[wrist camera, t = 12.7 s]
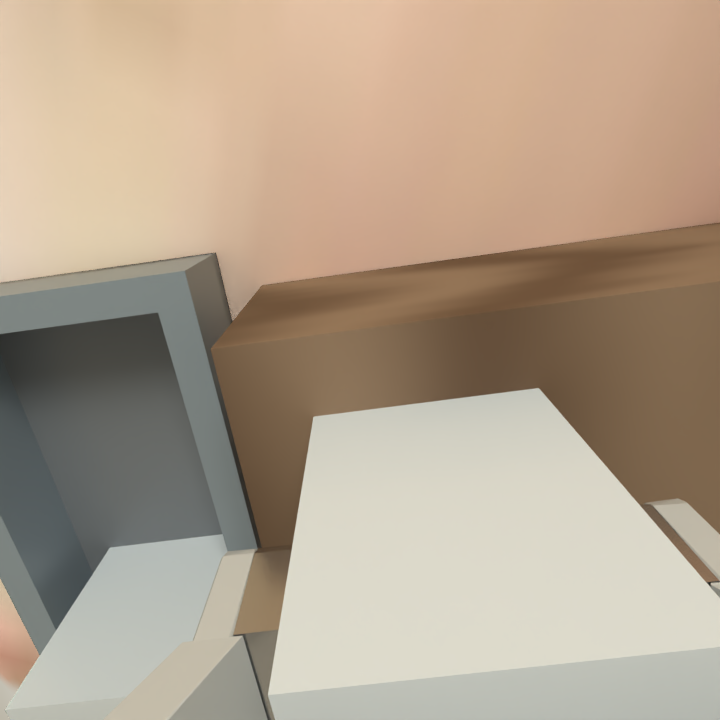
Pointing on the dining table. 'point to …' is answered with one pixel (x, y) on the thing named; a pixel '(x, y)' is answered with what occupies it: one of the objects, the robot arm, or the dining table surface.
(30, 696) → the off-white small block
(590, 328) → the square brown board
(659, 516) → the robot arm
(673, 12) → the dining table surface
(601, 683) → the white block
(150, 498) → the tray
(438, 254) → the dining table surface
